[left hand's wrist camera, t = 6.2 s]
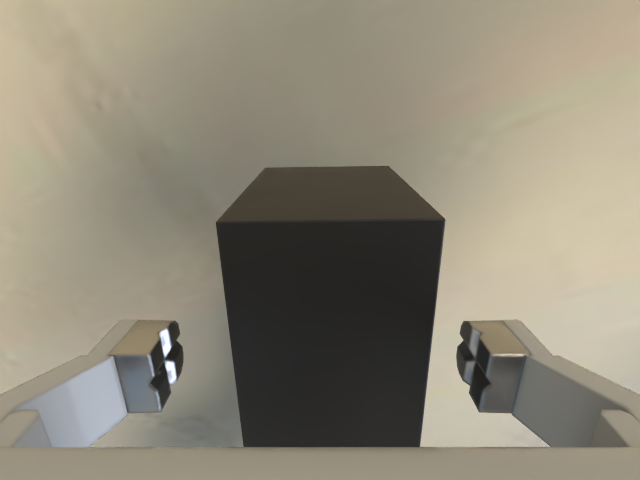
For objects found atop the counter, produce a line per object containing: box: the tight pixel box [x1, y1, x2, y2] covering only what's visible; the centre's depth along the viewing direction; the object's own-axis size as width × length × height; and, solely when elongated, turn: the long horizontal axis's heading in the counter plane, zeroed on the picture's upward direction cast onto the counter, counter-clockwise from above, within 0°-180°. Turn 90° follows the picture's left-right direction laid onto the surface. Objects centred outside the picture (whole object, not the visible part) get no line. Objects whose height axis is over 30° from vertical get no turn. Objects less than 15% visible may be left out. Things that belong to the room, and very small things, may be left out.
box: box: [216, 166, 445, 447], centre depth 17 cm, size 23×6×9 cm, turn 1°
